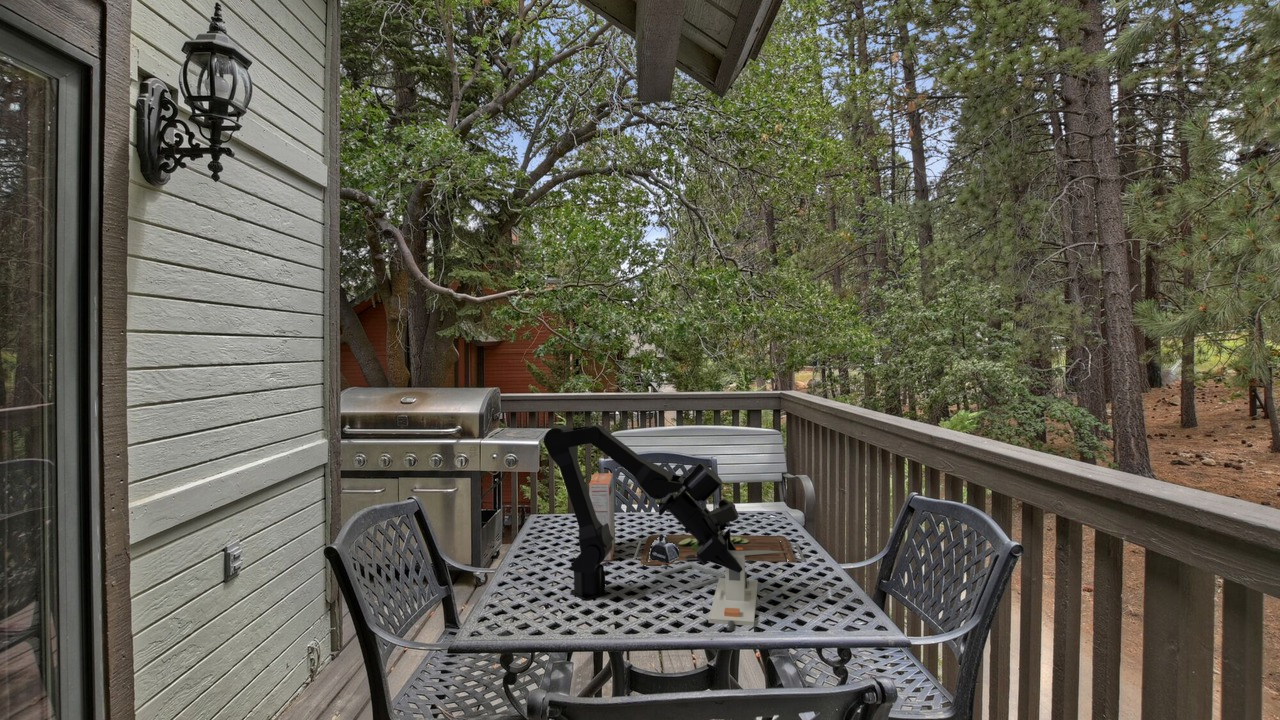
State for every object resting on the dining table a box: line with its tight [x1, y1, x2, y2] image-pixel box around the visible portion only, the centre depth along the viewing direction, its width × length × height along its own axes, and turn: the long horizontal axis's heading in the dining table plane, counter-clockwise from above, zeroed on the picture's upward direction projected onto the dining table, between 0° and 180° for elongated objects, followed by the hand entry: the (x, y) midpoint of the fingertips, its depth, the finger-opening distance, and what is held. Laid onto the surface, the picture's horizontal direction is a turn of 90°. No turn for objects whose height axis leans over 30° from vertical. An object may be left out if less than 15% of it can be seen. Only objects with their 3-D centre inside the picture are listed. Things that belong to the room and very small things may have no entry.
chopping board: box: [632, 533, 807, 567], centre depth 184 cm, size 45×27×3 cm, turn 84°
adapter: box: [724, 550, 746, 601], centre depth 148 cm, size 4×5×10 cm
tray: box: [654, 563, 725, 591], centre depth 162 cm, size 12×12×1 cm
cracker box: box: [588, 472, 616, 562], centre depth 184 cm, size 14×6×21 cm, turn 178°
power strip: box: [708, 578, 759, 632], centre depth 145 cm, size 27×9×2 cm, turn 168°
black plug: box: [745, 571, 748, 589], centre depth 155 cm, size 4×4×4 cm
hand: (741, 567), depth 147 cm, fingers closed on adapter, 5 cm apart
